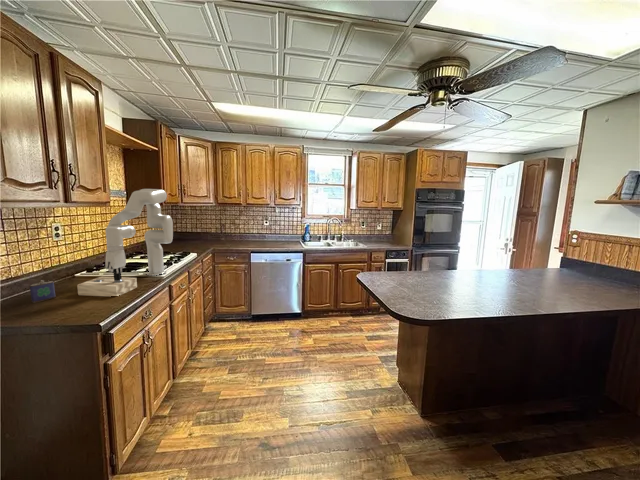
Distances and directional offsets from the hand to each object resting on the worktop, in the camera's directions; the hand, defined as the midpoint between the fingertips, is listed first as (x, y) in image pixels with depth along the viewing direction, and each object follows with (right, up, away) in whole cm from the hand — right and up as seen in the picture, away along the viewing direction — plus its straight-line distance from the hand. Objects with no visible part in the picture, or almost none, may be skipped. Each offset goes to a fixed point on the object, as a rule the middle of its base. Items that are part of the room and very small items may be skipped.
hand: (117, 279), depth 157 cm
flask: (-29, -9, -14) cm, 33 cm away
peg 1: (-12, -6, +2) cm, 14 cm away
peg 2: (0, -5, +1) cm, 6 cm away
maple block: (-6, -7, +1) cm, 9 cm away
